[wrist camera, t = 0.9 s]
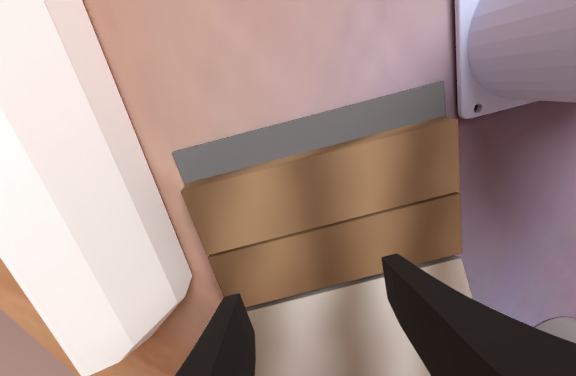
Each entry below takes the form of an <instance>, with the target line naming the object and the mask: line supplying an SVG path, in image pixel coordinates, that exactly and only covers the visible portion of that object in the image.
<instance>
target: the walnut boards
mask: <svg viewBox="0 0 576 376" xmlns="http://www.w3.org/2000/svg"><path fill="white" fill-rule="evenodd" d="M458 191H460V169H459V133H458V119H454V118H448V117H438V118H434V119H431V120H427V121H423V122H419V123H415V124H411V125H408V126H404V127H400V128H396V129H392V130H388V131H385V132H381V133H377V134H373V135H369V136H365V137H361V138H358V139H354V140H350V141H346V142H342V143H338V144H335V145H331V146H327V147H323V148H319V149H315V150H312V151H308V152H304V153H300V154H296V155H292V156H289V157H285V158H281V159H277V160H273V161H269V162H266V163H262V164H258V165H254V166H250V167H246V168H242V169H239V170H235V171H231V172H227V173H223V174H219V175H216V176H212V177H208V178H204V179H200V180H196V181H193V182H189V183H187V184H186V185H185V187H184V188H183V189H182V190H181V194H182V196H183V199H184V201H185V203H186V206H187V208H188V211H189V213H190V215H191V218H192V220H193V223H194V225H195V227H196V230H197V232H198V235H199V237H200V239H201V242H202V244H203V247H204V249H205V252H206V254H207V255H209V257H208V259H209V261H210V264H211V266H212V268H213V271H214V273H215V276H216V278H217V280H218V283H219V285H220V288H221V290H222V292H223V295H224V297H225V296H229V295H233V294H237V293H240V295H241V298H242V300H243V303H244V305H245V308H246V307H249V306H253V305H257V304H261V303H265V302H269V301H273V300H277V299H281V298H285V297H289V296H293V295H297V294H301V293H305V292H309V291H313V290H317V289H321V288H325V287H329V286H333V285H337V284H341V283H345V282H349V281H353V280H357V279H361V278H365V277H369V276H373V275H377V274H381V273H383V266H382V259H381V257H384V256H388V255H392V254H396V253H397V254H399V255H401V256H402V257H404V258H405V259H407V260H408V261H410V262H411V263H413V264H414V265H417V264H421V263H424V262H428V261H432V260H436V259H440V258H444V257H448V256H452V255H456V254H460V253H462V240H461V205H460V193H458Z"/></svg>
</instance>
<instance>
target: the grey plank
mask: <svg viewBox="0 0 576 376" xmlns="http://www.w3.org/2000/svg"><path fill="white" fill-rule="evenodd" d="M416 266H417V267H419V268H420V269H422V270H423V271H425V272H427V273H428V274H430V275H431V276H433V277H435V278H436V279H438V280H440V281H441V282H443V283H445V284H446V285H448V286H450V287H451V288H453V289H455V290H456V291H458V292H460V293H462V294H464V295H466V296H467V297H469V298H471V299H472V295H471V291H470V288H469V284H468V280H467V277H466V273H465V269H464V266H463V262H462V258H460V257H458V256H455V255H452V256H448V257H444V258H440V259H436V260H432V261H428V262H424V263H421V264H417V265H416ZM246 311H247V313H248V316H249V318H250V321H251V324H252V326H253V329H254V331H255V349H256V364H255V376H431V375H430V373H429V372H428V370H427V368H426V367H425V365H424V363H423V362H422V360H421V359H420V357H419V355H418V354H417V352H416V350H415V349H414V347H413V346H412V344H411V342H410V341H409V339H408V337H407V336H406V334H405V333H404V331H403V329H402V328H401V326H400V324H399V322H398V320H397V318H396V316H395V314H394V312H393V310H392V308H391V305H390V303H389V301H388V299H387V292H386V286H385V279H384V273H381V274H377V275H373V276H369V277H365V278H361V279H357V280H353V281H349V282H345V283H341V284H337V285H333V286H329V287H325V288H321V289H317V290H313V291H309V292H305V293H301V294H297V295H293V296H289V297H285V298H281V299H277V300H273V301H269V302H265V303H261V304H257V305H253V306H249V307H246Z"/></svg>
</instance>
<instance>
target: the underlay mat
mask: <svg viewBox="0 0 576 376" xmlns="http://www.w3.org/2000/svg"><path fill="white" fill-rule="evenodd" d="M438 117H446V116H445V93H444V81H440V82H436V83H433V84H429V85H425V86H421V87H417V88H414V89H410V90H406V91H402V92H398V93H395V94H391V95H387V96H383V97H379V98H376V99H372V100H368V101H364V102H360V103H356V104H353V105H349V106H345V107H341V108H337V109H334V110H330V111H326V112H322V113H318V114H315V115H311V116H307V117H303V118H299V119H296V120H292V121H288V122H284V123H280V124H277V125H273V126H269V127H265V128H261V129H258V130H254V131H250V132H246V133H242V134H239V135H235V136H231V137H227V138H223V139H219V140H216V141H212V142H208V143H204V144H200V145H197V146H193V147H189V148H185V149H181V150H178V151H174V152H172V154H173V157H174V159H175V162H176V164H177V167H178V169H179V172H180V174H181V176H182V179H183V181H184V184H185V185H186V184H187V183H189V182H193V181H196V180H200V179H204V178H208V177H212V176H216V175H219V174H223V173H227V172H231V171H235V170H239V169H242V168H246V167H250V166H254V165H258V164H262V163H266V162H269V161H273V160H277V159H281V158H285V157H289V156H292V155H296V154H300V153H304V152H308V151H312V150H315V149H319V148H323V147H327V146H331V145H335V144H338V143H342V142H346V141H350V140H354V139H358V138H361V137H365V136H369V135H373V134H377V133H381V132H385V131H388V130H392V129H396V128H400V127H404V126H408V125H411V124H415V123H419V122H423V121H427V120H431V119H434V118H438Z"/></svg>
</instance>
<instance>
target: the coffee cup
mask: <svg viewBox="0 0 576 376" xmlns="http://www.w3.org/2000/svg"><path fill="white" fill-rule="evenodd" d="M534 328H537V329H539V330H542V331H544V332H547V333H549V334H552V335H555V336H557V337H560V338H562V339H565V340H568V341H571V342H574V343H576V320H575V319H573V318H569V317H558V318H553V319H550V320H547V321H545V322H543V323H541V324H539V325H537V326H536V327H534Z"/></svg>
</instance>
